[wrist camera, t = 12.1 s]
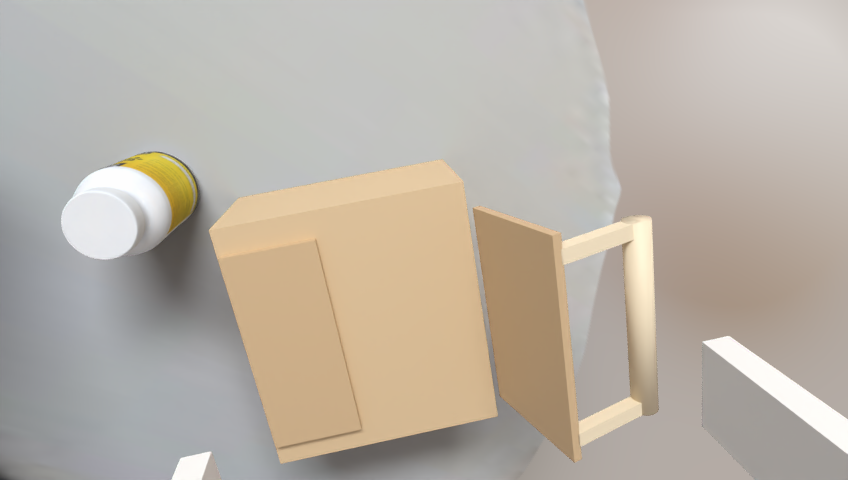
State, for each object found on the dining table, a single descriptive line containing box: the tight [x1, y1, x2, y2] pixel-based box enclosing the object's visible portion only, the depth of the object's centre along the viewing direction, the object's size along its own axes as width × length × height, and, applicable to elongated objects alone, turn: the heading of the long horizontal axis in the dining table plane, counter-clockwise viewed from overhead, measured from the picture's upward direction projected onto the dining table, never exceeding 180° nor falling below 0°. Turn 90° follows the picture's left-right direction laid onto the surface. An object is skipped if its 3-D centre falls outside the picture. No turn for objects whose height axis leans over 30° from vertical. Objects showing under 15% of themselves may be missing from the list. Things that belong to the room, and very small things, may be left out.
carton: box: [209, 159, 498, 464], centre depth 46 cm, size 18×20×11 cm
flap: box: [473, 206, 659, 463], centre depth 38 cm, size 10×16×8 cm
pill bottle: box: [61, 152, 199, 260], centre depth 40 cm, size 6×6×12 cm
